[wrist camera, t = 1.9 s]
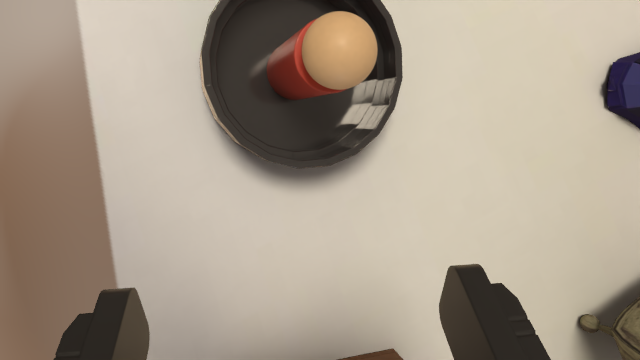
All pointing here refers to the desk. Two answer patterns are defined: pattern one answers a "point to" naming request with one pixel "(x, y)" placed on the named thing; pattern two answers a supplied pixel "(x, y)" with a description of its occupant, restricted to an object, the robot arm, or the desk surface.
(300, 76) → the doll
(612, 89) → the computer mouse
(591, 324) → the tabletop clock
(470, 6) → the desk surface
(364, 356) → the tray
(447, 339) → the robot arm
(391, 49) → the pan
